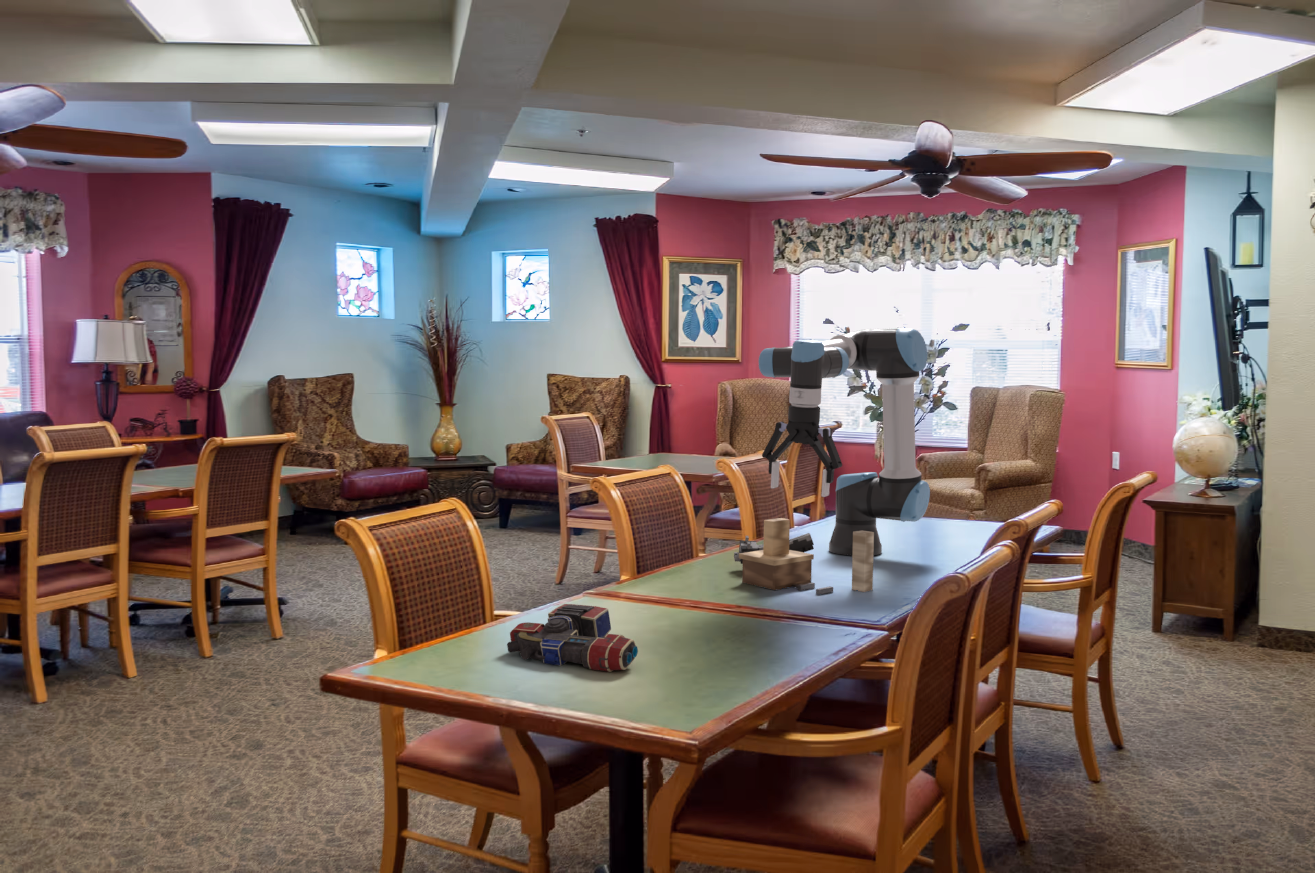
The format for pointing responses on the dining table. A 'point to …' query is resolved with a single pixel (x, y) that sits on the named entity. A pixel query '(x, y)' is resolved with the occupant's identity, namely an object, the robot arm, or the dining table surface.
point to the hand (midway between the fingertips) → (799, 491)
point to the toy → (795, 544)
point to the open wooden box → (776, 574)
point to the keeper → (812, 585)
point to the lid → (776, 545)
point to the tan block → (862, 561)
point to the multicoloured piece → (574, 639)
